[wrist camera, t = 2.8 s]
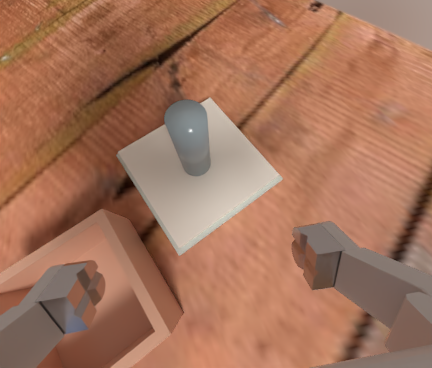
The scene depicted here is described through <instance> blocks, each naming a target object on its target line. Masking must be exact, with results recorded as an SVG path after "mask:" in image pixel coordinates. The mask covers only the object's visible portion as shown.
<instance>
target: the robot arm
mask: <svg viewBox="0 0 432 368" xmlns="http://www.w3.org/2000/svg"><path fill="white" fill-rule="evenodd" d="M292 235H293V237H294V238H295V240H294V241H293V242H292V254H293V257H294V260H295V262H296V264H297V266H298V267H300V268H302V269H303V270H304V273H303V276H304V278H305V279H306V281H307V283H308V284H309V286H310V288H311V289H312V290H318V289H325V288H331V287H334V289H336V290H337V291H339V292H340V293H341V294H343V295H344V296H346V297H347V298H348V299H350V300H351V301H352V302H354V303H355V304H357V305H358V306H359V307H361V308H362V309H363V310H365V311H366V312H368V313H369V314H370V315H372V316H373V317H375V318H376V319H377V320H379V321H380V322H381V323H383V324H384V325H386V326H387V327H388V328H390V331H389V334H388V336H387V338H386V340H385V346H386V348H387V349H388V350H389V353H384V354H379V355H374V356H368V357H363V358H358V359H353V360H347V361H342V362H337V363H332V364H326V365H321V366H316V367H311V368H432V276H431V275H429V274H427V273H424V272H422V271H419V270H417V269H415V268H412V267H410V266H407V265H405V264H403V263H400V262H398V261H395V260H393V259H390V258H388V257H386V256H383V255H381V254H378V253H376V252H374V251H371V250H369V249H366V248H359V247H358V246H357V245H356V244H355V243H354V242H353V241H352V240H351V239H350V238H349V237H348V236H347V235H346V234H345V233H344V232H343V231H342V230H341V229H339V228H338V227H337V226H336V225H335V224H334V223H333V222H331V221H326V222H321V223H317V224H311V225H305V226H299V227H294V228H293V232H292ZM97 269H98V265H97V264H96V262H95V261H93V260H88V261H81V262H74V263H66V264H61V265H54V266H52V267H50V268H48V269H47V270H46V272H45V273H44V274H43V275H42V277H41V278H40V279H39V280H38V281H37V283H36V284H35V285H34V286H33V288H32V289H31V290H30V291H29V293H28V294H27V295H26V296H25V297H24V299H23V300H22V301H21V302H20V304H19V305H18V306H13V307H12V308H10V309H9V310H8V311H6V312H5V313H3V314H2V315H0V368H36V367H37V366H38V365H39V364H40V363H41V361H42V360H43V359H44V358H45V357H46V356H47V355H48V354H49V353H50V351H51V350H52V349H53V348H54V347H55V346H56V345H57V344H58V343H59V341H60V340H61V339H62V338H63V337H64V336H65V335H64V334H69V333H74V332H78V331H83V330H88V329H89V328H90V325H91V323H92V321H93V319H94V316H95V314H96V312H97V310H96V307H95V306H96V305H97V304H98V303H99V302H100V301H101V300H102V298H103V295H104V293H105V286H106V284H105V279H104V277H103V275H102V274H101V273H99V272H97Z"/></svg>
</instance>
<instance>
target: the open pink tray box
mask: <svg viewBox="0 0 432 368" xmlns="http://www.w3.org/2000/svg"><path fill="white" fill-rule="evenodd" d="M88 260H93V261H95V262H96V264H97V265H98V269H97V272H99V273H101V274H102V275H103V277H104V279H105V284H106V286H105V293H104V295H103V298H102V300H101V301H100V302H99V303H98V304H97V305H96V306H95V307H96V310H97V312H96V314H95V316H94V319H93V321H92V323H91V325H90V328H89V329H88V330H83V331H78V332H74V333H69V334H64V335H65V336H64V337H63V338H62V339H61V340H60V341H59V343H58V344H57V345H56V346H55V347H54V348H53V349H52V350H51V351H50V353H49V354H48V355H47V356H46V357H45V358H44V359H43V360H42V361H41V363H40V364H39V365H38V366H37V367H36V368H131V367H132V366H133V365H134V364H136V363H137V362H138V361H139V360H140V359H142V358H143V357H144V356H145V355H147V354H148V353H149V352H150V351H151V350H153V349H154V348H155V347H156V346H158V345H159V344H160V343H161V342H162V341H164V340H165V339H166V338H167V337H169V336H170V335H171V334H172V332H173V330H174V328H175V327H176V325H177V323H178V322H179V320H180V318H181V316H182V315H183V313H184V312H183V311H182V309H181V307H180V305H179V304H178V302H177V300H176V299H175V297H174V295H173V293H172V292H171V290H170V288H169V287H168V285H167V283H166V281H165V280H164V278H163V276H162V275H161V273H160V271H159V269H158V268H157V266H156V264H155V263H154V261H153V259H152V257H151V256H150V254H149V252H148V251H147V249H146V247H145V245H144V244H143V242H142V240H141V239H140V237H139V235H138V233H137V232H136V230H135V228H134V227H133V225H132V223H131V222H130V220H129V219H128V218H125V217H122V216H120V215H117V214H115V213H112V212H110V211H107V210H105V209H100V210H99V211H97V212H96V213H94V214H92V215H91V216H89V217H88V218H86V219H85V220H83V221H81V222H80V223H78V224H77V225H75V226H74V227H72V228H70V229H69V230H67V231H66V232H64V233H63V234H61V235H59V236H58V237H56V238H55V239H53V240H51V241H50V242H48V243H47V244H45V245H44V246H42V247H40V248H39V249H37V250H36V251H34V252H33V253H31V254H29V255H28V256H26V257H25V258H23V259H22V260H20V261H18V262H17V263H15V264H14V265H12V266H11V267H9V268H7V269H6V270H4V271H3V272H1V273H0V315H2V314H3V313H5V312H6V311H8V310H9V309H10V308H12V307H13V306H18V305H19V304H20V302H21V301H22V300H23V299H24V297H25V296H26V295H27V294H28V293H29V291H30V290H31V289H32V288H33V286H34V285H35V284H36V283H37V281H38V280H39V279H40V278H41V277H42V275H43V274H44V273H45V272H46V270H47V269H48V268H50V267H52V266H54V265H61V264H66V263H74V262H81V261H88Z"/></svg>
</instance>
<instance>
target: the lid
mask: <svg viewBox="0 0 432 368" xmlns="http://www.w3.org/2000/svg"><path fill="white" fill-rule="evenodd" d="M164 122H165V124H164V125H162V126H161V127H159V128H157V129H156V130H154V131H152V132H150V133H149V134H147V135H145V136H144V137H142V138H140V139H139V140H137V141H135V142H133V143H132V144H130V145H128V146H127V147H125V148H123V149H122V150H120V151H118V153H119V155H120V156H121V158H122V159H123V161H124V163H125V164H126V166H127V167H128V169H129V170H130V172H131V174H132V175H133V177H134V178H135V180H136V181H137V183H138V185H139V186H140V188H141V189H142V191H143V192H144V194H145V196H146V197H147V199H148V200H149V202H150V204H151V205H152V207H153V208H154V210H155V211H156V213H157V215H158V216H159V218H160V219H161V221H162V222H163V224H164V226H165V227H166V229H167V230H168V232H169V233H170V235H171V237H172V238H173V240H174V241H175V243H176V244H177V246H178V248H182V247H183V246H185V245H186V244H187V243H189V242H190V241H191V240H193V239H194V238H196V237H197V236H198V235H200V234H201V233H202V232H204V231H205V230H206V229H208V228H209V227H210V226H212V225H213V224H215V223H216V222H217V221H219V220H220V219H221V218H223V217H224V216H225V215H227V214H228V213H230V212H231V211H232V210H234V209H235V208H236V207H238V206H239V205H240V204H242V203H243V202H245V201H246V200H247V199H249V198H250V197H251V196H253V195H254V194H255V193H257V192H258V191H259V190H261V189H262V188H264V187H265V186H266V185H268V184H269V183H270V182H272V181H273V180H274V179H276V178H277V177H278V176H279V174H278V173H277V171H276V170H275V169H274V168H273V167H272V166H271V165H270V164H269V162H268V161H267V160H266V159H265V158H264V157H263V156H262V155H261V154H260V152H259V151H258V150H257V149H256V148H255V147H254V146H253V145H252V144H251V142H250V141H249V140H248V139H247V138H246V137H245V136H244V135H243V133H242V132H241V131H240V130H239V129H238V128H237V127H236V126H235V125H234V123H233V122H232V121H231V120H230V119H229V118H228V117H227V116H226V115H225V113H224V112H223V111H222V110H221V109H220V108H219V107H218V106H217V105H216V103H215V102H214V101H213V100H212V99H211V98H208V99H207V100H205V101H203V102H201V103H198V102H196V101H193V100H181V101H177V102H175V103H174V104H172V105H171V106H170V107H169V108H168V109H167V111H166V113H165V116H164Z"/></svg>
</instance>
